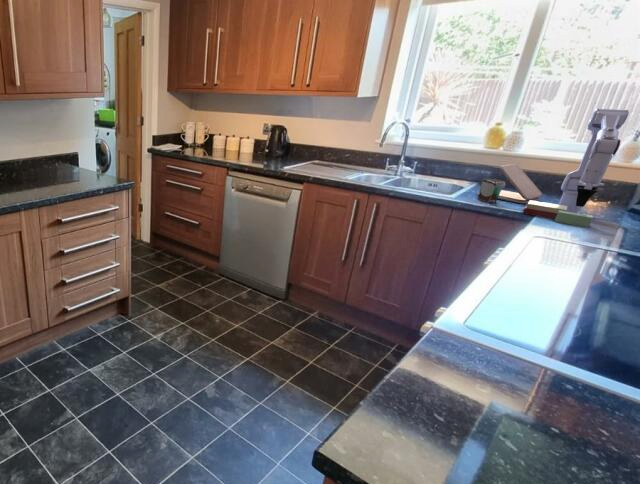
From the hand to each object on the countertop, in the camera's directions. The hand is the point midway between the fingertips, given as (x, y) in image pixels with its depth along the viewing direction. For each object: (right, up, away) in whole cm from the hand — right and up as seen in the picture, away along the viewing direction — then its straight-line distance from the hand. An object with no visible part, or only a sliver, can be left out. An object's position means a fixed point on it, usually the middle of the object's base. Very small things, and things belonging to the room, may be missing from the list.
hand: (579, 204), depth 170 cm
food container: (-6, +6, +35) cm, 36 cm away
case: (+10, +9, +44) cm, 46 cm away
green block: (0, -7, +3) cm, 8 cm away
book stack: (0, -3, +15) cm, 15 cm away
